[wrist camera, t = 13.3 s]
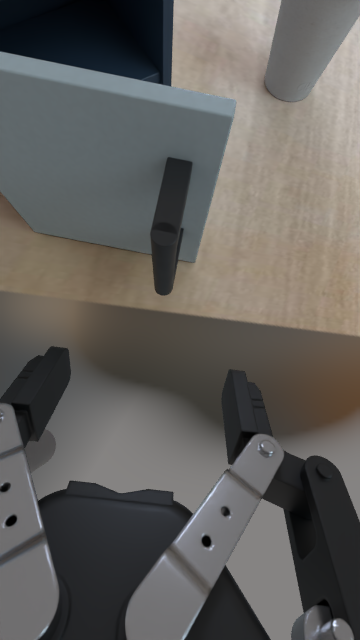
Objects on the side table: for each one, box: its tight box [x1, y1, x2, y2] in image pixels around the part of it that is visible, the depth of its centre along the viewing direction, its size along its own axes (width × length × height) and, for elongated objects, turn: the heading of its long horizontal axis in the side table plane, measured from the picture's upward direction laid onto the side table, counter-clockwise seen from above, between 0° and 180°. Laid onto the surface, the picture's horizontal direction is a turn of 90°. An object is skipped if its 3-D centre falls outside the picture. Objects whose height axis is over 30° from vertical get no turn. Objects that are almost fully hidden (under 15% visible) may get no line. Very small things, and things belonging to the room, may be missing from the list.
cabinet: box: [0, 0, 174, 86], centre depth 22 cm, size 11×16×16 cm
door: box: [0, 52, 236, 295], centre depth 19 cm, size 6×16×15 cm, turn 80°
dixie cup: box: [265, 0, 360, 102], centre depth 28 cm, size 8×8×10 cm
